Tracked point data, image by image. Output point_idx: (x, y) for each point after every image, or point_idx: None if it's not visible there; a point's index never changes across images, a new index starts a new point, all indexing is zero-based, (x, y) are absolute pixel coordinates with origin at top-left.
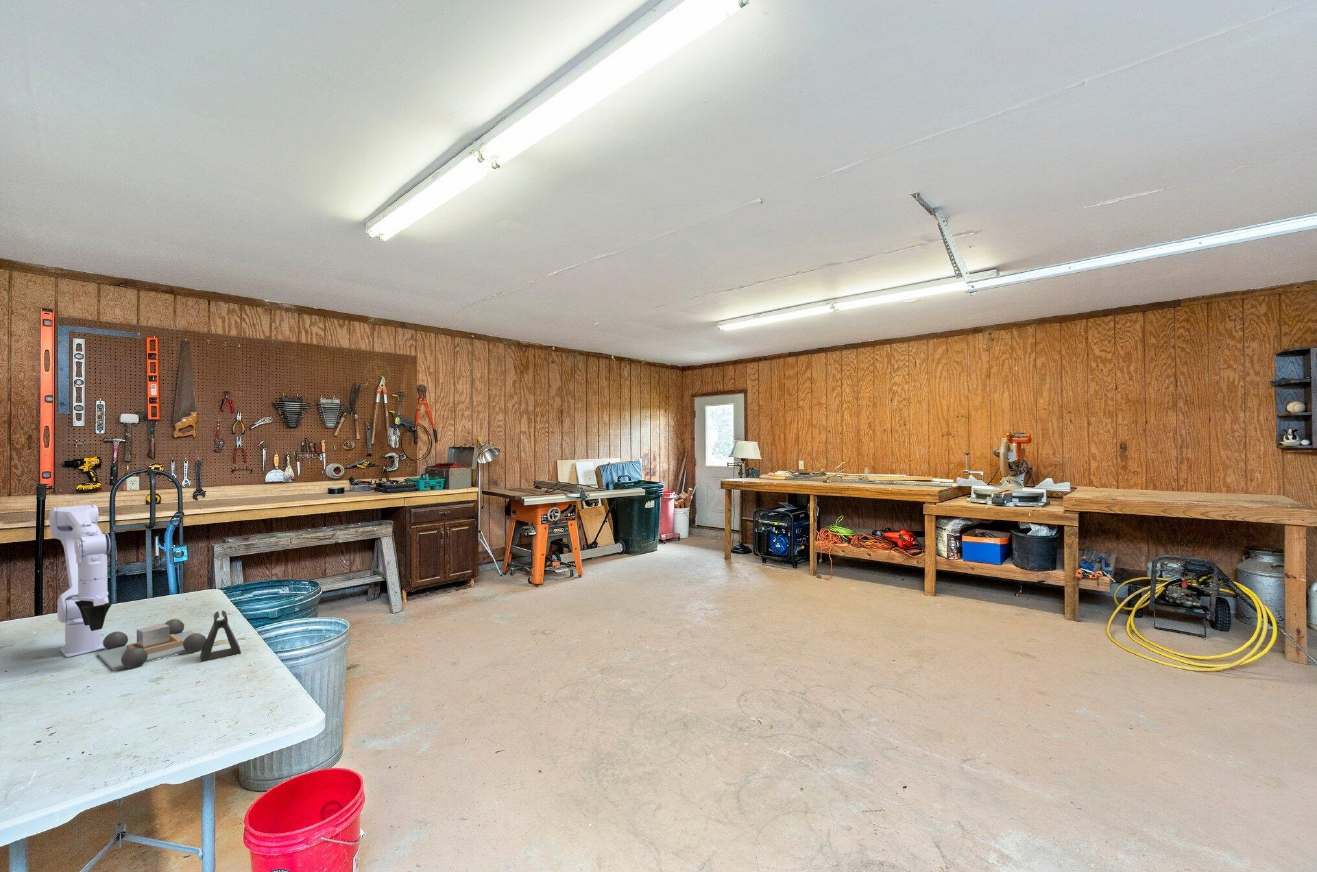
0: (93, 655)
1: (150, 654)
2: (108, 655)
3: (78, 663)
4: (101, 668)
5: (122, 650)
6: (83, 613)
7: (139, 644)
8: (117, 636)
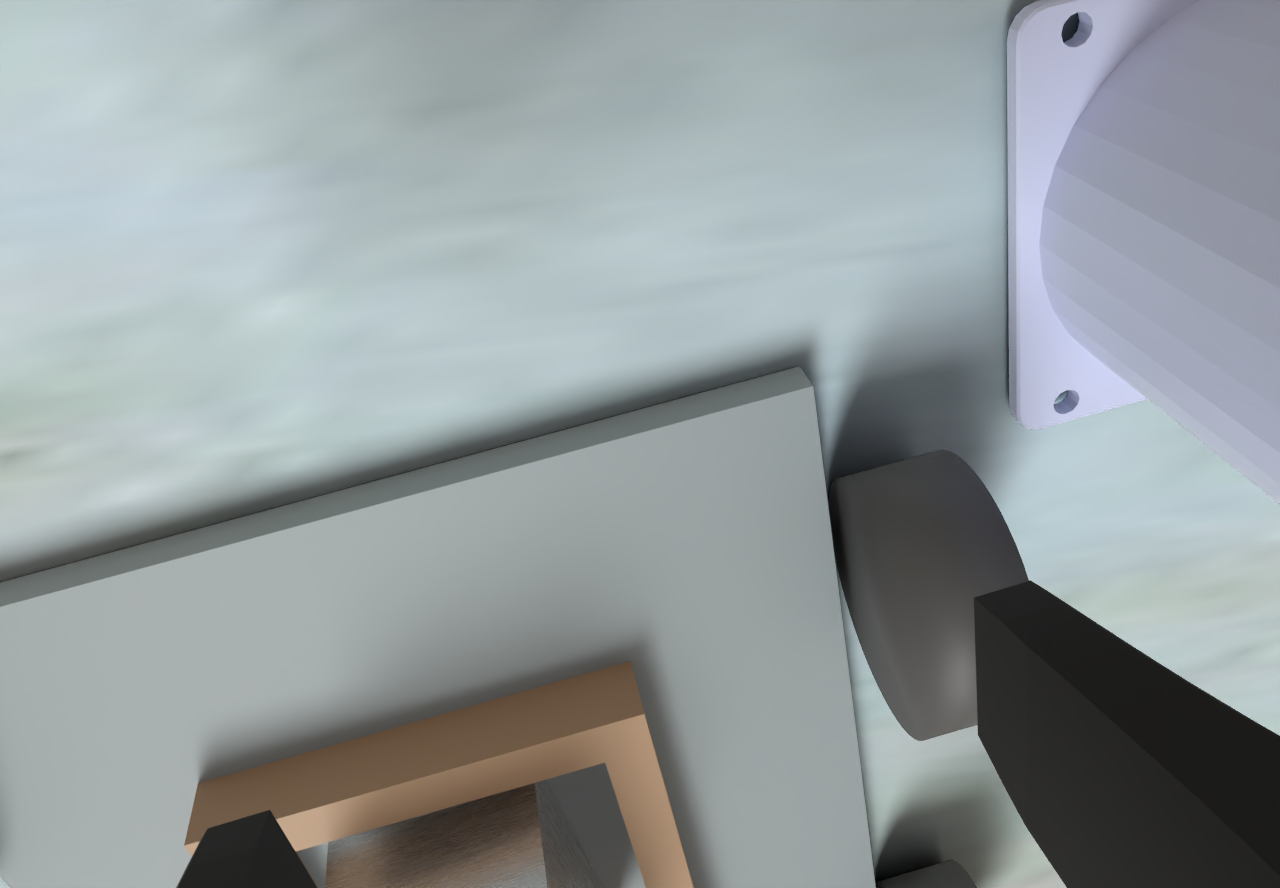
0: (828, 325)
1: None
2: (530, 525)
3: (560, 196)
4: (69, 492)
5: (645, 627)
6: (1243, 876)
7: (440, 864)
8: (909, 670)
